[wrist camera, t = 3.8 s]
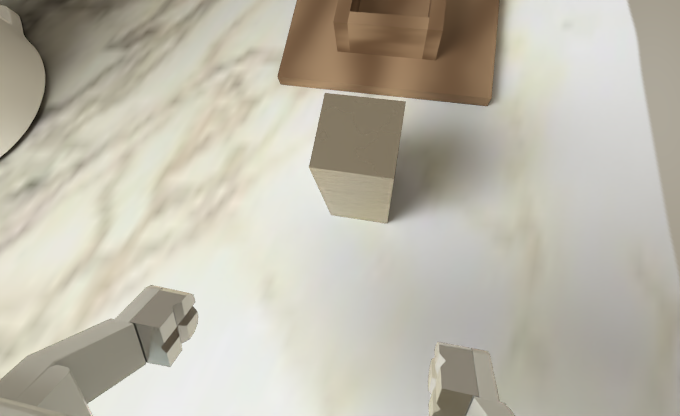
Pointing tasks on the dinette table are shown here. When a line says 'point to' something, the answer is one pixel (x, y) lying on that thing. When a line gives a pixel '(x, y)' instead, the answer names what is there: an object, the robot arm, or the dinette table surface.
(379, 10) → the wooden slotted tray
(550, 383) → the dinette table surface
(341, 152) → the block
